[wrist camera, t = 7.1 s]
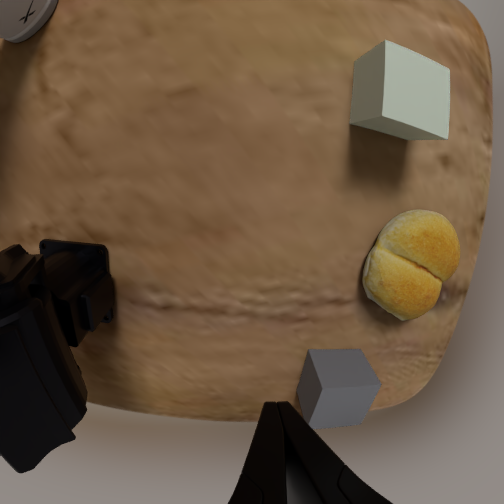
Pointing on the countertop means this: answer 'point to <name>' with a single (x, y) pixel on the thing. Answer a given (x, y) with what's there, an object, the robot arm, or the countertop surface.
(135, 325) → the countertop surface
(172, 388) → the countertop surface
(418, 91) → the sage block
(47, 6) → the travel mug
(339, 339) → the countertop surface
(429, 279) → the bread roll
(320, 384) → the charcoal block
